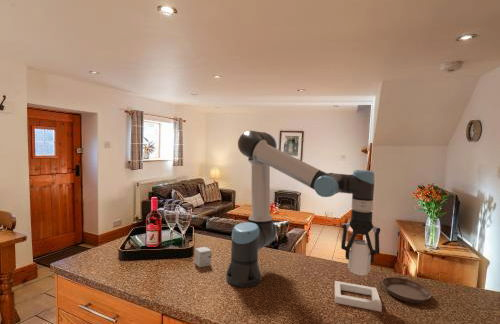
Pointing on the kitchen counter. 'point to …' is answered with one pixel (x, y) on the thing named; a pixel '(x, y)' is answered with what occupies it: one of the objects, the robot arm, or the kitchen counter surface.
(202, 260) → the skincare box
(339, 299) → the socket collar
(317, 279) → the kitchen counter surface
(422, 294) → the plant saucer
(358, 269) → the can
